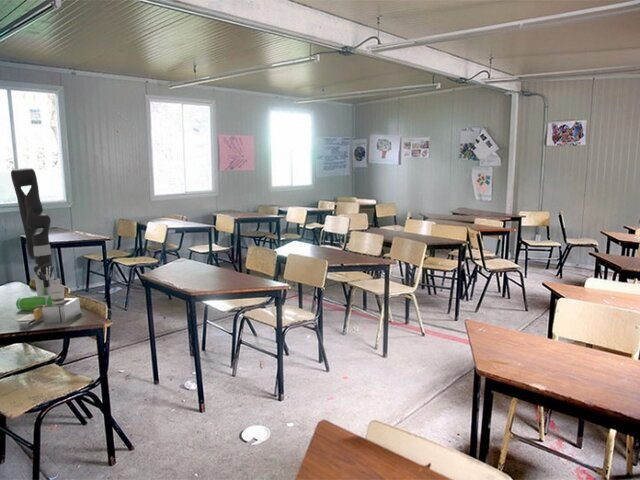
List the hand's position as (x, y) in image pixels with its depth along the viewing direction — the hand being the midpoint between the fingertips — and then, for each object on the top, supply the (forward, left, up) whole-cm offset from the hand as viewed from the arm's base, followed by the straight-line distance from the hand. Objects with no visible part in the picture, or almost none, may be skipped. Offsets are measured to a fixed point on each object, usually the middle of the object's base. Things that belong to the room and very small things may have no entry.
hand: (46, 287), depth 243 cm
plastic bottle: (+8, +9, -15) cm, 19 cm away
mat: (+6, -7, -14) cm, 17 cm away
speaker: (-9, -12, -15) cm, 21 cm away
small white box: (+12, +7, -14) cm, 20 cm away
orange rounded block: (+9, 0, -14) cm, 17 cm away
